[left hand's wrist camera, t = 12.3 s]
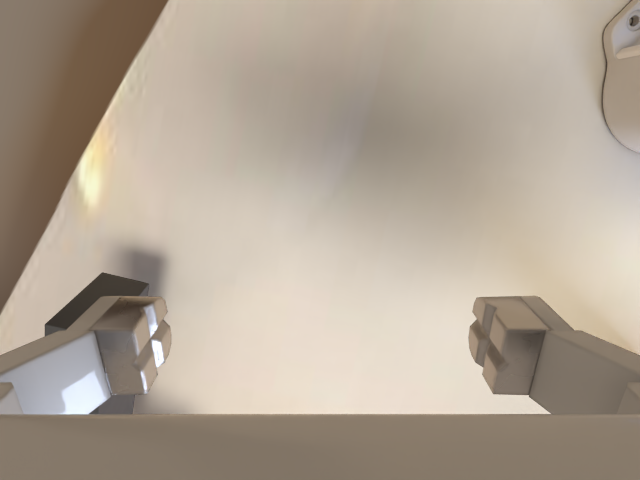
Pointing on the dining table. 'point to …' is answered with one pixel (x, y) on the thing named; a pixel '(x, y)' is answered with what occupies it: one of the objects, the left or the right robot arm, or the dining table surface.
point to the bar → (83, 302)
